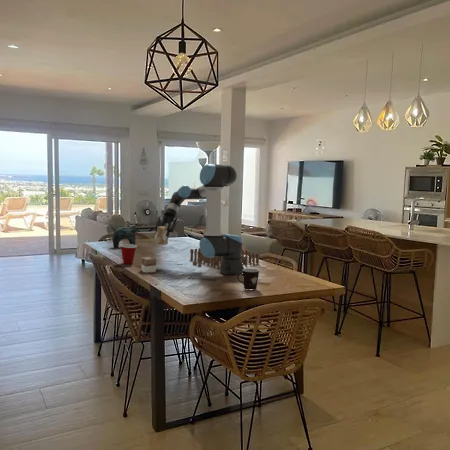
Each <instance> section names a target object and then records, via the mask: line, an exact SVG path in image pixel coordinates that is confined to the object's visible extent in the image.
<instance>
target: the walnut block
mask: <svg viewBox="0 0 450 450" xmlns="http://www.w3.org/2000/svg"><path fill="white" fill-rule="evenodd" d="M142 265H144V266H157V258H156V257H153V256H146V257H141V266H142Z"/></svg>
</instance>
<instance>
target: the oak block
mask: <svg viewBox="0 0 450 450" xmlns="http://www.w3.org/2000/svg"><path fill="white" fill-rule="evenodd" d="M166 230H167V231H168V226H166V225H164V226H160V227H157V241H156V244H157V245H161V246H162V245H163V246H164V245H165V246H166V245H168V243H169V236H167V238H166V241H164V240H163V237H164V234H165V232H166Z"/></svg>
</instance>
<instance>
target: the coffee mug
mask: <svg viewBox="0 0 450 450" xmlns="http://www.w3.org/2000/svg"><path fill="white" fill-rule="evenodd" d="M259 273H260V270H259V269H258V268H257V269H256V268H252V267H251V268H244V269H243V274H242V273H240V274H238V275H237V277H236V279H237V281H238V282H240V283H241V284H243V289H244V288H245V289H256V290H257V286H258V282H259V281H258V279H259ZM240 275H241V276H242V279H243V281H241V280H240V279H239V276H240ZM245 289H244V290H245Z"/></svg>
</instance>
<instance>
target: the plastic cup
mask: <svg viewBox="0 0 450 450" xmlns="http://www.w3.org/2000/svg"><path fill="white" fill-rule="evenodd" d="M119 246H120V249H121V257H122V262H123V264H125V265H132V264H133V263H134V258H135V252H136V250H137V247H138V245H136V244H135V245H133V244H130V243H121V244H119Z"/></svg>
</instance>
